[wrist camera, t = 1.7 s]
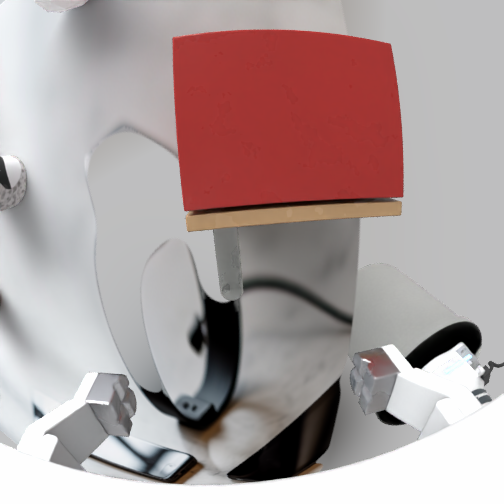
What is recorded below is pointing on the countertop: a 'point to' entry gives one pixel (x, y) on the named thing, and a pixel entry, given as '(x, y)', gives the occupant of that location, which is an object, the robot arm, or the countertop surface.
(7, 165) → the mug
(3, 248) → the countertop surface
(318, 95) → the cabinet
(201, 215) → the door
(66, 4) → the decorative ball
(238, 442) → the countertop surface
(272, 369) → the countertop surface
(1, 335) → the countertop surface
